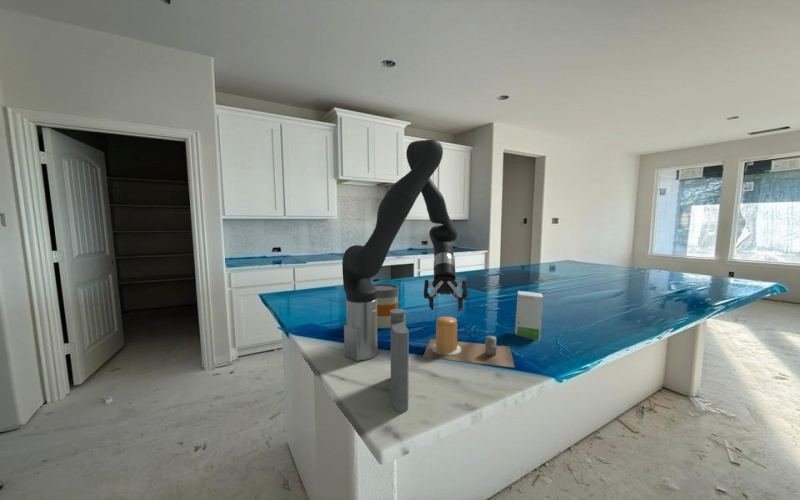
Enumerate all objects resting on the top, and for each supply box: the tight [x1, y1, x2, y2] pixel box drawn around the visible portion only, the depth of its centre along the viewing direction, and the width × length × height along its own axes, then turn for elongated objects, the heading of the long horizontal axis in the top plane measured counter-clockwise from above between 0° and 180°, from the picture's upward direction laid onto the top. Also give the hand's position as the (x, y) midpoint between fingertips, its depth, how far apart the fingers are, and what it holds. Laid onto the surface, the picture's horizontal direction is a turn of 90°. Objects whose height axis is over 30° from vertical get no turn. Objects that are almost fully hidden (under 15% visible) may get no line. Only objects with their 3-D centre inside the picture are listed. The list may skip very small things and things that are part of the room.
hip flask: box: [390, 308, 410, 413], centre depth 72 cm, size 16×4×20 cm, turn 2°
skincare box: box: [514, 290, 544, 342], centre depth 106 cm, size 8×7×16 cm
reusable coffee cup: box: [373, 283, 400, 329], centre depth 119 cm, size 13×13×15 cm
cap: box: [435, 316, 458, 353], centre depth 93 cm, size 6×6×9 cm
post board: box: [422, 335, 515, 368], centre depth 91 cm, size 25×14×6 cm, turn 75°
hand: (445, 309), depth 97 cm, fingers open, 8 cm apart
